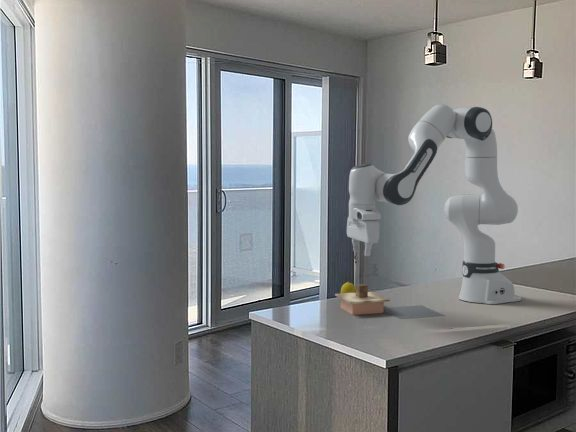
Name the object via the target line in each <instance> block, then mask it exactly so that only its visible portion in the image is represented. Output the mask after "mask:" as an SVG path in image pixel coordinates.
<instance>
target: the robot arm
mask: <svg viewBox="0 0 576 432" xmlns="http://www.w3.org/2000/svg"><path fill="white" fill-rule="evenodd" d="M496 136H497V135H496V133H495V130H494V129H493V117H492V114H491V112H490V111H489V110H488V109H486V108H484V107H481V106H462V107H458V108H457V107H456V108H451V107H450V106H448V105H446V104H442V103H440V104H435V105H434V106H433V107H431V108H430V109H429V110H428V111H426V113H424V115H422V117H421V118H420V119H419V120H418V121H417V122H416V124H414V126H413V127H412V129H411V131H410V133H409V134H408V138H407V139H408V144H409V146H410V148H411V150H412V151H413V152H414V153H413V155H412V157H411V158H410V160H409V161H408V162H407V164H406V165H405V167H404V169H403V170H401V171H399V172H397V173H386V172H384V171H382V170H380V169H378V168H377V167H376V166H374V164H373V163H362V164H357V165H354V166H353V167H351V169H350V172H349V175H348V176H349V179H348V194H349V200H348V216H347V219H346V220H347V222H346V236H347V238H350V239H351V243H352V247H353V248H352V249H353V250H352V251H353V252H355V253H359V252H360V251H361V247H360V245H359V244H360V243H359V242H363V243H364V246H365V248H364V250H363V255H364V256H365V257H370V256H371V253H372V248H373V245H374V244H378V243H379V240H380V228H381V227H380V226H381V225H380V221H381V219H382V216H381V215H382V214H381V213H380V212H379V211H378V209H377V207H376V202H377V201H378V202H381V203H382V202H383V203H388V204H392V205H396V206H403V205H407V204H408V203H409V202H411V200H412V199H413V198H414V196H415V193H416V190H417V187H418V185H419V183H420V180H421V179H422V177H423V176H424V175H425V173H426V172H427V169H429V167H430V165H431V164H432V163H433V160H434V158H435V157H436V155H437V152H438V149H439V147H440V146H441V145H442V143H443V142H444V141H445V140H446V138H447V139H459V140H460V139H461V140H464V143H465V158H464V159H465V161H464V162H465V167H464V168H465V171H464V175H465V178H466V181H468V182H470V184H473V186H474V185H475V186H477V187H479V188H480V189H481V190H482V194H470V193H469V194H457V195H452V196H450V197H448V198H447V200H446V201H445V204H444V208H443V209H444V215H445V217H446V219H447V220H448V221H449V222H450V223H452V224H453V225H454V226H455V227H456V229H457V230H458V231H459V233H460V235H461V237H462V238H461V239H462V244H463V261H462V269H461V270H462V271H461V274H462V281H461V288H460V292H459V296H458V299H459V300H461V301H465V302H469V303H478V304H486V305H487V304H488V305H498V304H504V303H513V302H520V301H522V297H521V296H519V295H517V294H516V293H515V286H514V283H513V282H512V281H511V280H510V279H508V277H506V276H505V275H503V273H501V272H500V270H504V269H505V267H506V266H505V264H504V263H500V262H496V242H495V240H494V238H493V237H491V236H490V235H488V234H486V233H485V232H483V231H480V229H479V225H489V226H490V225H495V226H499V225H506V224H511V223H513V222H514V221H515V220H516V218H517V216H518V212H519V208H518V204H517V201H516V200H515V199H514V198H513V197H512V196H511V195H509V194H508V193H507V191H506V190H504V189H503V187H502V185H501V183H500V180H499V175H498V145H497V137H496ZM379 220H380V221H379Z"/></svg>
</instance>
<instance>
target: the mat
mask: <svg viewBox="0 0 576 432" xmlns="http://www.w3.org/2000/svg"><path fill="white" fill-rule="evenodd" d="M383 312H386V313H388V314H390V315H391V316H394V317H396V318H398V319H399V320H406V319H421V318H431V317H432V318H433V317H434V318H435V317H444V316H445V317H446V315H445V314H442V313H441V312H439V311H435V310H433V309H431V308H429V307H426V306H424V305H421V304H419V305H405V306H391V307H390V306H388V307H384V309H383Z"/></svg>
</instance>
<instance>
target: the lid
mask: <svg viewBox="0 0 576 432" xmlns="http://www.w3.org/2000/svg"><path fill="white" fill-rule="evenodd" d="M368 287H369V285H368V284H366V283H359V284H358V283H357V284H355V289H356V293H341V292H340V293H334V296H335V297H337V298H339V299H340V300H341V299H342V300H344V301H346V302H347V303H349V304H357V303H372V302H385V303H386V302H390V299H389V298H388V297H385V296H383V295H381V294H378V293H377V292H374V291H369V288H368Z"/></svg>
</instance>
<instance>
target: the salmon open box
mask: <svg viewBox="0 0 576 432" xmlns="http://www.w3.org/2000/svg"><path fill="white" fill-rule="evenodd" d="M384 304H385V303H384V302H372V303H357V304H349V303H347V302H346V301H344V300H342V299H340V309H342V310H344V311H345V312H347V313H348V314H349V315H352V316H357V315H369V314H371V315H372V314H383V313H384V310H383V309H384V308H385V307H384Z"/></svg>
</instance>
